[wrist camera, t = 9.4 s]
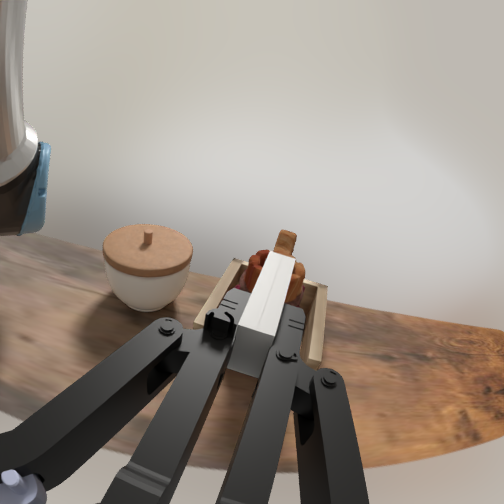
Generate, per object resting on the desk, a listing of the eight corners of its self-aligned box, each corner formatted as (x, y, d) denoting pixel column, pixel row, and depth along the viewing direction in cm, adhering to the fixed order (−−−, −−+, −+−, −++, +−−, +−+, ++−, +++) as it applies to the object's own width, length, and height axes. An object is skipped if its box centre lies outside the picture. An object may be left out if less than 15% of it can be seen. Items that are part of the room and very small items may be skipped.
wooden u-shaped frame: (189, 356, 39) (193, 322, 36) (227, 289, 53) (233, 258, 50) (304, 392, 37) (321, 361, 34) (315, 315, 52) (327, 286, 49)
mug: (273, 388, 37) (312, 290, 30) (210, 366, 38) (230, 264, 31) (292, 318, 50) (322, 232, 43) (243, 302, 51) (264, 215, 44)
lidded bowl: (122, 266, 52) (123, 206, 47) (193, 282, 53) (202, 221, 48) (92, 312, 41) (85, 243, 36) (176, 334, 42) (183, 264, 37)
